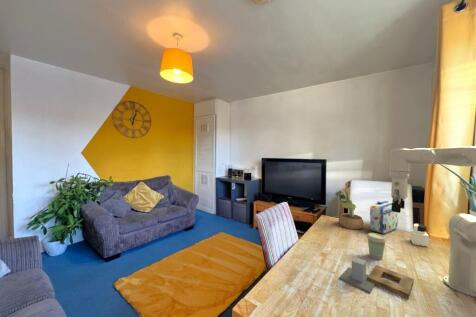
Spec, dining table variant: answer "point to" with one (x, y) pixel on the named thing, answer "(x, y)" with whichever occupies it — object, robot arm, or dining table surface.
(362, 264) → the slate block
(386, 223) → the lunch box
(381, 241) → the coffee cup
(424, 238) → the salt and pepper set
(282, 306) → the dining table surface
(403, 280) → the board
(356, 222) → the potted plant
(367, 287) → the coaster
